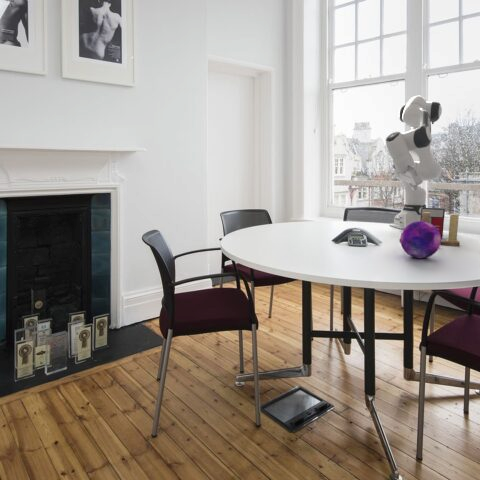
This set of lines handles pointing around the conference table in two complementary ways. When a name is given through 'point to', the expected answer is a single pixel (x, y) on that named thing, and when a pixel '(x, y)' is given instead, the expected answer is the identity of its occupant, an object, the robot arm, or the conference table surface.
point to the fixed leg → (453, 228)
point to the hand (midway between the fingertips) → (414, 189)
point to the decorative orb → (420, 239)
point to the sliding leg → (426, 216)
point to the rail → (447, 243)
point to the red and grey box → (436, 218)
